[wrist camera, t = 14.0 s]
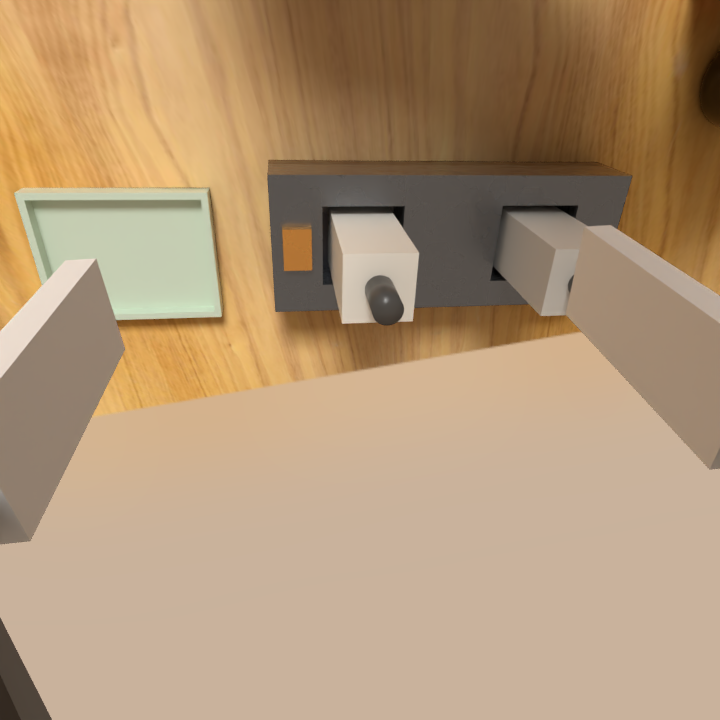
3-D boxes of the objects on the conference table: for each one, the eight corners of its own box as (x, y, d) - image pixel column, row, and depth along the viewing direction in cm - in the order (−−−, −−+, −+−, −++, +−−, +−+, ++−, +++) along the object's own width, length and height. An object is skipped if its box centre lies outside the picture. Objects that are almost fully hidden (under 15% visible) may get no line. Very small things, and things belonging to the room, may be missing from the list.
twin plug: (493, 202, 41) (579, 267, 29) (547, 201, 42) (654, 266, 30) (484, 257, 44) (561, 338, 32) (536, 256, 44) (630, 335, 32)
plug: (327, 203, 40) (348, 273, 28) (386, 203, 40) (431, 271, 28) (327, 260, 42) (347, 347, 30) (383, 259, 42) (423, 344, 31)
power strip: (268, 160, 39) (267, 176, 34) (597, 162, 42) (637, 177, 37) (275, 285, 44) (275, 315, 39) (567, 278, 47) (600, 305, 43)
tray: (23, 187, 38) (14, 193, 36) (209, 187, 39) (207, 192, 38) (60, 313, 43) (53, 321, 42) (223, 308, 44) (221, 316, 43)
